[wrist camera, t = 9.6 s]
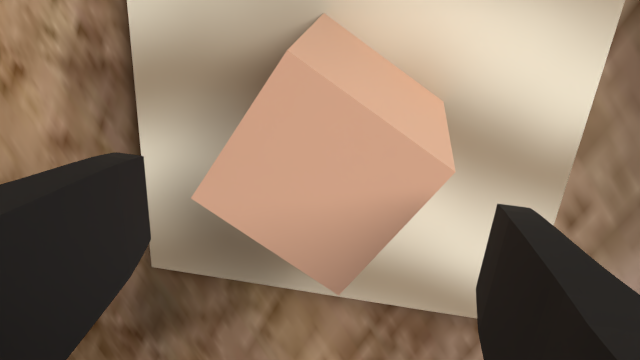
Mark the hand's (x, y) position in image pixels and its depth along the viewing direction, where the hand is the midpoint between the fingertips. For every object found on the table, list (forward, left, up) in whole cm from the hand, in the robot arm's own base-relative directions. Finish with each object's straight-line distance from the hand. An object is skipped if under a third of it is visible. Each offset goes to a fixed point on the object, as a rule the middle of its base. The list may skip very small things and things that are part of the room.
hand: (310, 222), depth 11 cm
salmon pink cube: (0, 0, -6) cm, 7 cm away
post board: (0, 0, -8) cm, 8 cm away
